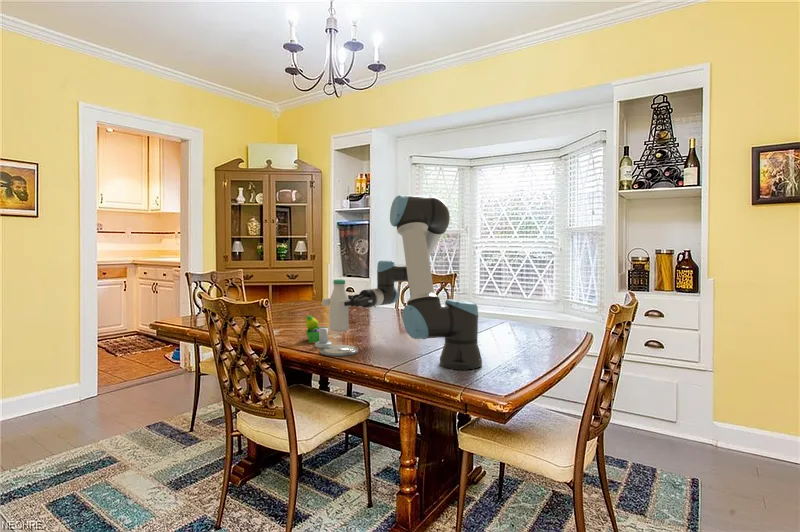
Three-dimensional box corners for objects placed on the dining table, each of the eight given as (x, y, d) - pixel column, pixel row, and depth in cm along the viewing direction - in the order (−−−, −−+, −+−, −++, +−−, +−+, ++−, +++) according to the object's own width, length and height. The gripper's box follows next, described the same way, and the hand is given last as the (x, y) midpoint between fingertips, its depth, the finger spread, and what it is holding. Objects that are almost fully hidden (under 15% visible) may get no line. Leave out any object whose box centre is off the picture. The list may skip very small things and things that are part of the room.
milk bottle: (347, 332, 176) (347, 280, 175) (327, 331, 176) (327, 280, 175) (350, 328, 184) (350, 278, 183) (331, 327, 184) (331, 278, 183)
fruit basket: (323, 343, 195) (323, 317, 194) (302, 343, 195) (302, 317, 194) (328, 338, 206) (327, 313, 205) (308, 337, 206) (308, 313, 206)
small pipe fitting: (334, 347, 188) (334, 329, 188) (318, 349, 185) (318, 330, 184) (328, 343, 194) (328, 326, 194) (312, 345, 191) (312, 327, 190)
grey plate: (364, 353, 178) (364, 350, 178) (328, 358, 170) (328, 354, 170) (348, 346, 191) (348, 342, 190) (314, 350, 183) (314, 346, 183)
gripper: (388, 309, 187) (348, 316, 169) (353, 304, 200) (312, 310, 182) (388, 291, 187) (348, 296, 169) (353, 287, 199) (312, 291, 182)
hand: (330, 303), depth 176 cm, fingers closed on milk bottle, 7 cm apart
